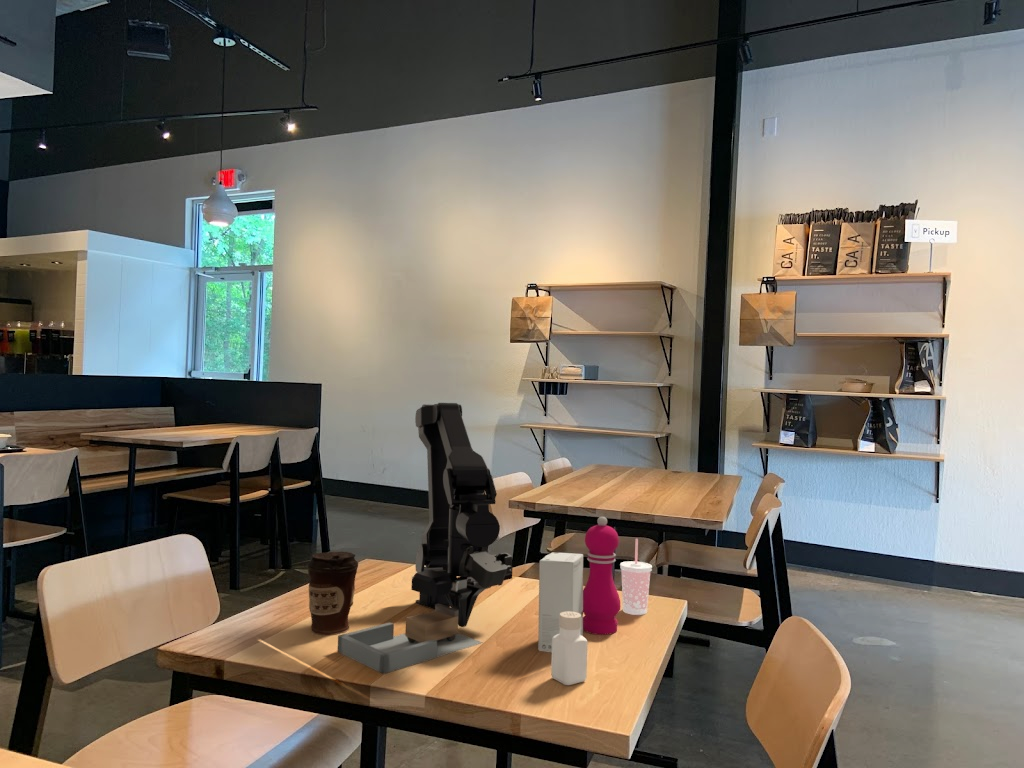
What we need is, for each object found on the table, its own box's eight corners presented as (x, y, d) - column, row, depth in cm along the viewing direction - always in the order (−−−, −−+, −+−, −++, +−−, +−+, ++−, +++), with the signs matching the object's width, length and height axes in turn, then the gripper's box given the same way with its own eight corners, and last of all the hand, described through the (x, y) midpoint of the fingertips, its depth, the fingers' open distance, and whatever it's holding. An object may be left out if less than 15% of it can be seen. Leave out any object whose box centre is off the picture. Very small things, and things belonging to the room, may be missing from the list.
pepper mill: (623, 625, 131) (626, 515, 132) (615, 638, 125) (618, 521, 125) (584, 620, 134) (587, 512, 134) (574, 632, 127) (577, 517, 127)
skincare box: (572, 657, 115) (575, 563, 115) (535, 652, 117) (538, 559, 117) (583, 640, 123) (585, 552, 123) (548, 636, 125) (551, 549, 125)
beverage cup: (644, 618, 136) (646, 543, 137) (614, 612, 139) (616, 539, 140) (655, 610, 142) (657, 538, 142) (625, 604, 145) (627, 534, 145)
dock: (435, 626, 128) (436, 610, 128) (483, 644, 120) (483, 627, 120) (337, 653, 113) (338, 635, 113) (383, 675, 105) (384, 656, 105)
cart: (437, 632, 124) (438, 603, 124) (457, 640, 120) (458, 610, 120) (404, 642, 119) (405, 611, 119) (425, 650, 115) (426, 618, 115)
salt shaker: (588, 681, 105) (589, 616, 105) (566, 687, 103) (568, 620, 103) (570, 672, 108) (572, 608, 109) (549, 678, 106) (551, 613, 106)
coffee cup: (342, 641, 119) (344, 562, 119) (295, 636, 120) (298, 558, 121) (363, 625, 127) (365, 551, 128) (319, 621, 129) (321, 547, 129)
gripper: (455, 550, 112) (452, 651, 112) (536, 535, 126) (533, 626, 125) (410, 538, 120) (407, 633, 120) (491, 526, 133) (488, 611, 133)
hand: (462, 626), depth 124 cm, fingers closed
